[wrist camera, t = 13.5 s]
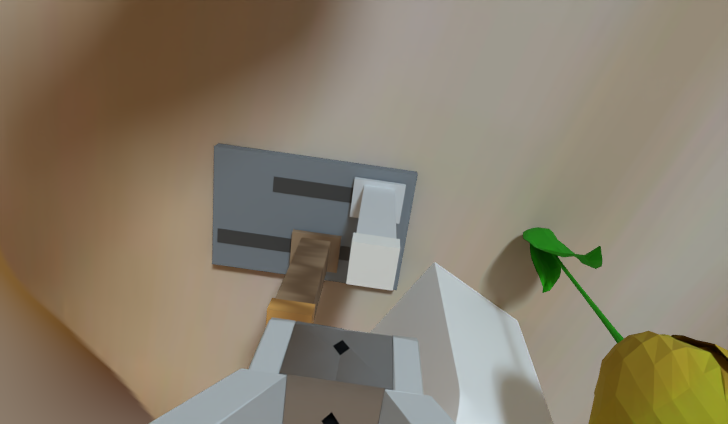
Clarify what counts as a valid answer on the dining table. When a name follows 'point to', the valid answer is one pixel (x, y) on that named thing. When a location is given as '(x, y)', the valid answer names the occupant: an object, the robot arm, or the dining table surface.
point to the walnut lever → (305, 276)
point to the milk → (468, 352)
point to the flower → (643, 360)
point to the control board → (289, 206)
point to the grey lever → (375, 233)
